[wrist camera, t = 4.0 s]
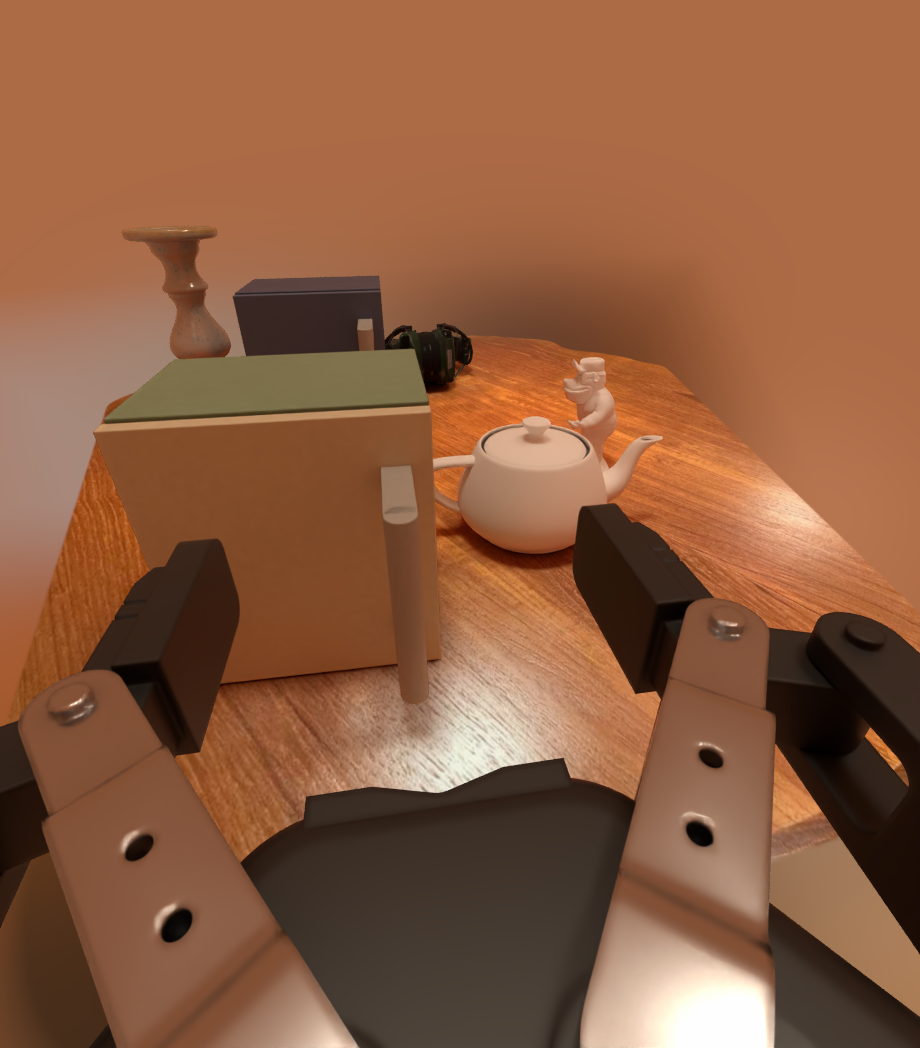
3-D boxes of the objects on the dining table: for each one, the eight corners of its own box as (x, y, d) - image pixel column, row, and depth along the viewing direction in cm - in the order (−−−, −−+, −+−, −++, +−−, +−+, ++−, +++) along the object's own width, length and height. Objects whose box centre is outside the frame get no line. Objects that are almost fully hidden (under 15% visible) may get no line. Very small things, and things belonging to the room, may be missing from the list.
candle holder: (219, 440, 68) (161, 232, 56) (161, 427, 72) (95, 230, 60) (277, 413, 77) (239, 226, 64) (223, 403, 81) (176, 225, 68)
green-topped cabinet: (439, 647, 37) (429, 400, 27) (202, 673, 35) (101, 418, 25) (425, 557, 46) (414, 348, 37) (237, 574, 44) (173, 359, 35)
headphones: (497, 353, 82) (468, 343, 100) (434, 290, 77) (415, 292, 94) (441, 418, 84) (423, 398, 102) (376, 362, 79) (368, 350, 97)
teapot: (427, 578, 44) (421, 461, 38) (418, 498, 55) (412, 399, 49) (678, 557, 46) (708, 443, 40) (619, 484, 57) (636, 387, 51)
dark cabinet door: (394, 457, 63) (381, 300, 54) (257, 466, 62) (219, 305, 52) (392, 435, 69) (380, 290, 60) (267, 443, 67) (234, 294, 58)
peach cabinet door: (452, 732, 31) (444, 460, 21) (167, 769, 29) (22, 490, 20) (439, 648, 37) (429, 405, 27) (200, 675, 35) (100, 423, 25)
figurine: (545, 446, 66) (554, 349, 59) (596, 444, 66) (610, 347, 60) (563, 479, 58) (575, 372, 52) (620, 477, 59) (639, 370, 52)
